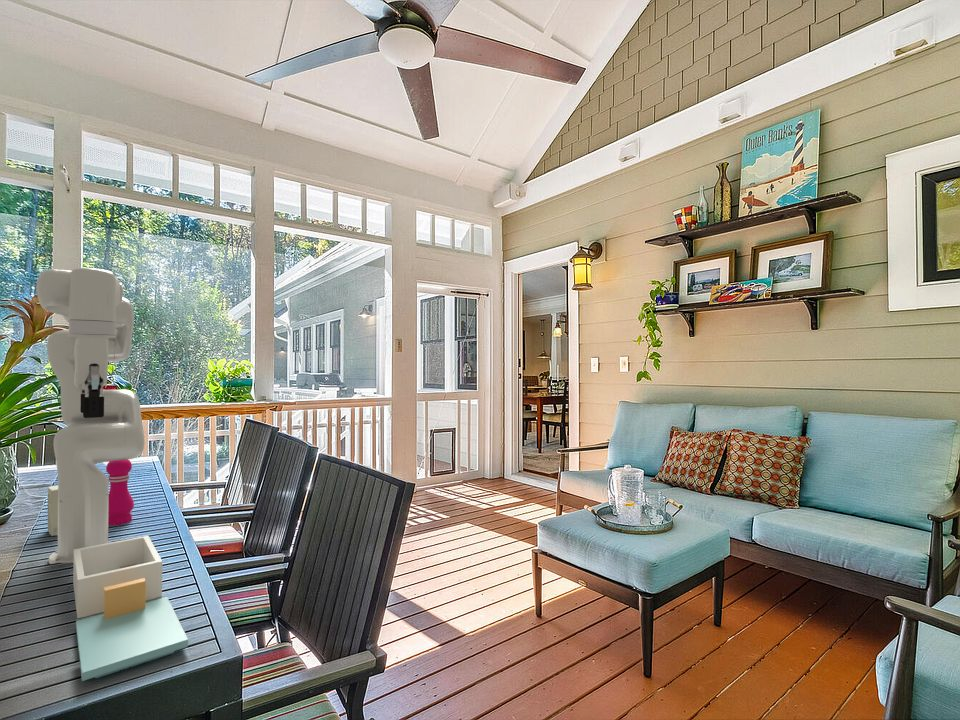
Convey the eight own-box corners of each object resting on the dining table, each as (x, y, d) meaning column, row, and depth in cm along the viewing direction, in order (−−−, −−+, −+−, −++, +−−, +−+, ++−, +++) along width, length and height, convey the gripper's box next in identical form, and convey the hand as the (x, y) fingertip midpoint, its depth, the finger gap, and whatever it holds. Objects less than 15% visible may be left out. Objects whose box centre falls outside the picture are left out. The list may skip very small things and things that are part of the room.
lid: (75, 636, 87) (76, 592, 87) (167, 610, 96) (167, 570, 96) (81, 691, 73) (82, 639, 73) (187, 655, 82) (188, 608, 82)
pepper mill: (129, 516, 149) (129, 449, 149) (137, 521, 144) (138, 452, 144) (99, 522, 143) (100, 452, 143) (107, 528, 139) (107, 456, 138)
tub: (73, 587, 104) (73, 549, 104) (147, 570, 112) (148, 535, 112) (77, 624, 90) (77, 579, 90) (161, 601, 99) (162, 561, 99)
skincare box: (72, 532, 135) (72, 487, 134) (51, 537, 131) (51, 490, 131) (67, 527, 139) (67, 483, 139) (46, 531, 136) (47, 486, 136)
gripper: (67, 330, 105) (66, 412, 105) (70, 328, 92) (69, 421, 92) (111, 332, 110) (110, 409, 110) (120, 330, 97) (119, 418, 97)
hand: (91, 414), depth 101 cm, fingers open, 9 cm apart
